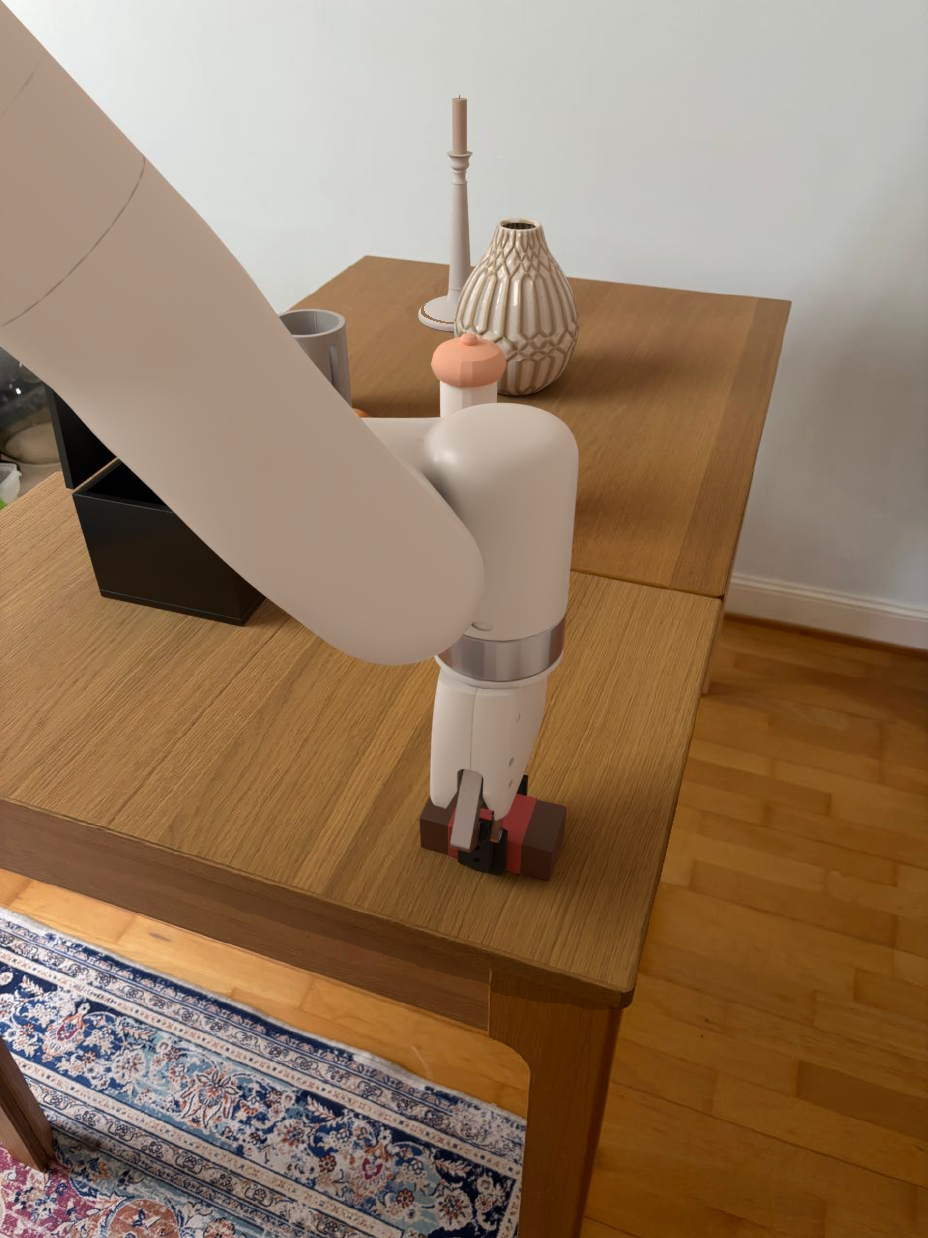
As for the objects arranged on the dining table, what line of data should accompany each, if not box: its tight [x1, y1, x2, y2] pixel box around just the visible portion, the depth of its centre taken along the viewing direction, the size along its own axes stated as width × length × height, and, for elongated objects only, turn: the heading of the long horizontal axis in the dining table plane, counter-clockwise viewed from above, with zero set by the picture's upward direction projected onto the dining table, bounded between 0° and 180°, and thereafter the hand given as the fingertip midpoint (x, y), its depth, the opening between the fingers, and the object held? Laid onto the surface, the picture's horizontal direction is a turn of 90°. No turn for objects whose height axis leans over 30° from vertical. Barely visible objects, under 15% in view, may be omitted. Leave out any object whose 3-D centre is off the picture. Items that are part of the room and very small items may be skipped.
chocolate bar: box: [419, 787, 567, 882], centre depth 63 cm, size 9×4×3 cm, turn 72°
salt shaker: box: [430, 333, 506, 417], centre depth 92 cm, size 7×7×19 cm
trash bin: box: [71, 457, 268, 627], centre depth 86 cm, size 15×13×11 cm
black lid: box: [42, 381, 118, 491], centre depth 80 cm, size 15×13×5 cm
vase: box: [453, 217, 580, 396], centre depth 119 cm, size 16×16×20 cm
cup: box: [276, 308, 353, 408], centre depth 113 cm, size 9×9×12 cm
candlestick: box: [417, 94, 473, 333], centre depth 135 cm, size 13×13×30 cm
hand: (492, 837), depth 64 cm, fingers closed on chocolate bar, 4 cm apart
